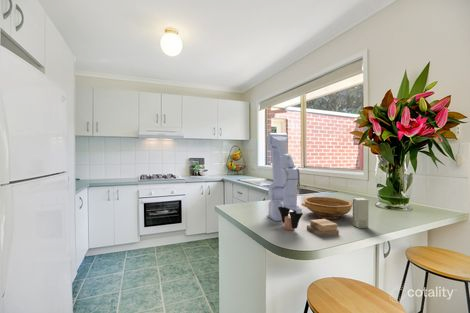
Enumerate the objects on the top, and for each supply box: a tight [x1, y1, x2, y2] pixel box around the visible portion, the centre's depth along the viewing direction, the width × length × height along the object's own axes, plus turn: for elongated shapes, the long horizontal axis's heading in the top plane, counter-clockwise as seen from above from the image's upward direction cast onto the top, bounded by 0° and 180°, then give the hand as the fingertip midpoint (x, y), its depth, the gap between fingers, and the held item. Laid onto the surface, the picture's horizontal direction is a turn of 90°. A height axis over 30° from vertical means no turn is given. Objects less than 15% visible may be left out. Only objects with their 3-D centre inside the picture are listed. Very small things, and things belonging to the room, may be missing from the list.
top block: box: [309, 218, 338, 232], centre depth 94 cm, size 8×8×2 cm
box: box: [352, 197, 369, 229], centre depth 102 cm, size 5×4×13 cm
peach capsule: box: [284, 215, 296, 231], centre depth 98 cm, size 4×4×5 cm
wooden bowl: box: [301, 196, 353, 220], centre depth 119 cm, size 30×24×8 cm
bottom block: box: [306, 224, 340, 238], centre depth 94 cm, size 9×9×2 cm
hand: (289, 225), depth 98 cm, fingers open, 7 cm apart
